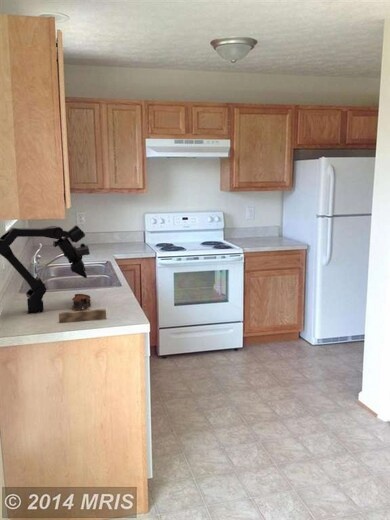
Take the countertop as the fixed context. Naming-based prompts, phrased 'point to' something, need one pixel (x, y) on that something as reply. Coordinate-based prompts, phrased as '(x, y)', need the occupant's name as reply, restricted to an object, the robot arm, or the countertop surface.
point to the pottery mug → (81, 301)
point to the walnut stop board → (82, 315)
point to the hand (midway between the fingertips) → (85, 274)
